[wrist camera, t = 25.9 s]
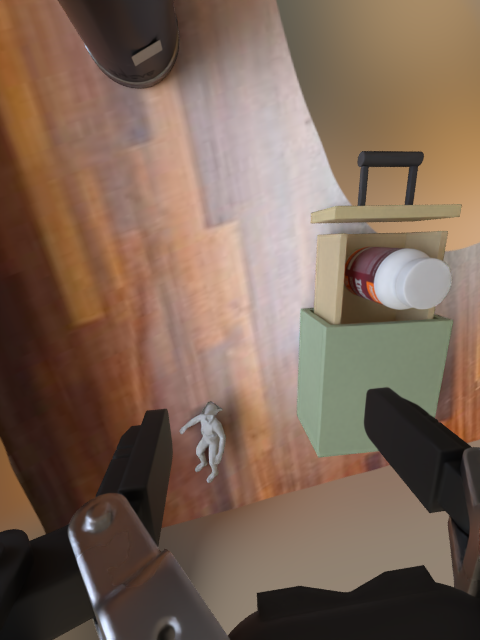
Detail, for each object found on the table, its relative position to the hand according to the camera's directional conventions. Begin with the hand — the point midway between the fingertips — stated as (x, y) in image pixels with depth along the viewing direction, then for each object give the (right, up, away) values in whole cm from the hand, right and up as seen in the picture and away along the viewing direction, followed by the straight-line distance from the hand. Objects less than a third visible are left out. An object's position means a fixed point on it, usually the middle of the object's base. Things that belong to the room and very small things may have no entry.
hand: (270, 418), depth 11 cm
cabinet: (+15, -2, +30) cm, 34 cm away
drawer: (+14, +12, +25) cm, 32 cm away
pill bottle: (+15, +10, +25) cm, 30 cm away
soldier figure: (-6, -13, +31) cm, 34 cm away
